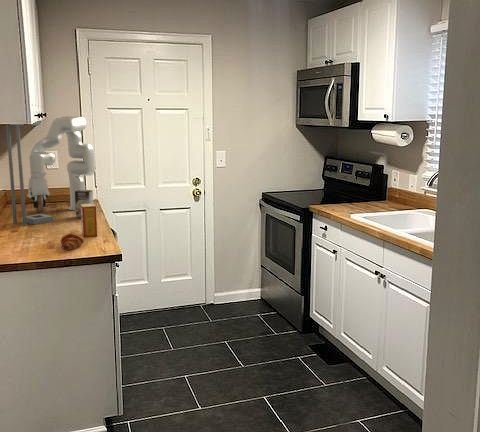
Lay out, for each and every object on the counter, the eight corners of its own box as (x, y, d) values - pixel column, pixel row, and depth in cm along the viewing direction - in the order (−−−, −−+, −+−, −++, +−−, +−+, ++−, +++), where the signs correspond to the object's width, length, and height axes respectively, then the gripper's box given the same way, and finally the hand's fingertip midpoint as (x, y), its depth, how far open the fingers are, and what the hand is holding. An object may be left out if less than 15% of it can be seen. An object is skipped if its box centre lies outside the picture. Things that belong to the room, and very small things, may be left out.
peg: (41, 211, 307) (40, 194, 305) (45, 212, 304) (44, 195, 302) (35, 212, 303) (33, 195, 302) (38, 213, 301) (37, 196, 299)
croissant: (70, 248, 257) (62, 234, 256) (89, 238, 258) (80, 224, 256) (61, 258, 237) (52, 243, 235) (81, 248, 237) (72, 232, 235)
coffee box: (75, 217, 316) (73, 191, 313) (79, 215, 322) (78, 189, 319) (90, 218, 315) (88, 191, 312) (94, 216, 322) (92, 189, 319)
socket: (41, 218, 312) (41, 213, 311) (53, 221, 305) (53, 216, 304) (22, 221, 302) (22, 216, 302) (34, 224, 295) (33, 219, 295)
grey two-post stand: (35, 219, 309) (28, 120, 298) (46, 222, 302) (40, 121, 291) (12, 223, 298) (4, 120, 287) (23, 226, 291) (16, 121, 280)
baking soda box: (81, 233, 273) (80, 203, 270) (94, 232, 275) (93, 202, 272) (83, 237, 264) (82, 206, 261) (97, 236, 267) (95, 205, 264)
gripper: (47, 173, 309) (49, 204, 312) (20, 176, 296) (22, 208, 299) (54, 174, 304) (56, 206, 307) (27, 177, 291) (29, 209, 294)
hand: (39, 206), depth 303 cm, fingers closed on peg, 4 cm apart
